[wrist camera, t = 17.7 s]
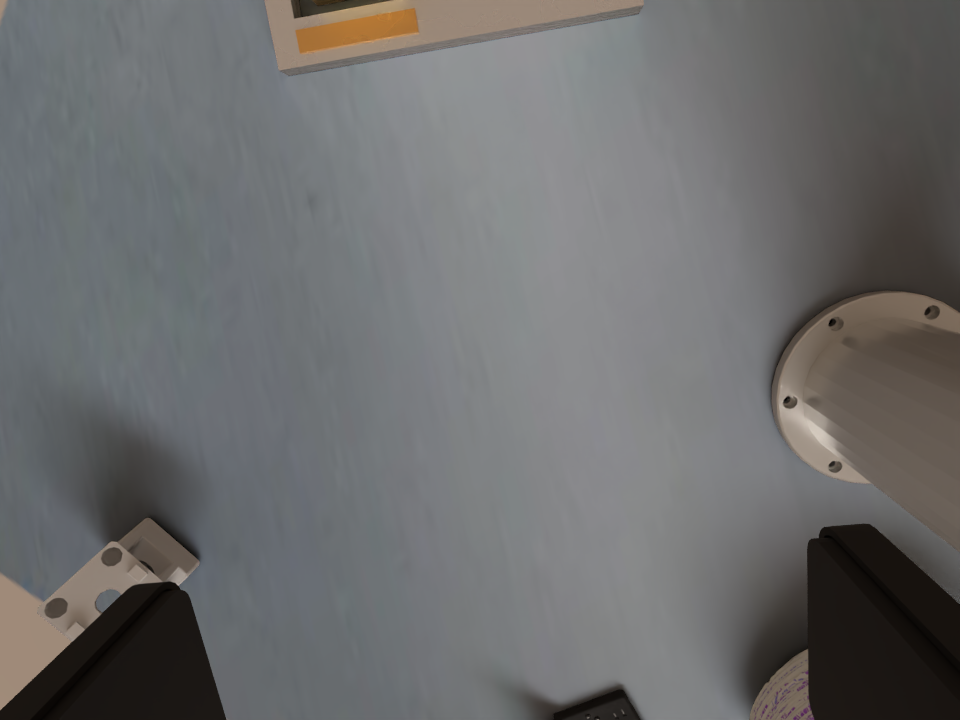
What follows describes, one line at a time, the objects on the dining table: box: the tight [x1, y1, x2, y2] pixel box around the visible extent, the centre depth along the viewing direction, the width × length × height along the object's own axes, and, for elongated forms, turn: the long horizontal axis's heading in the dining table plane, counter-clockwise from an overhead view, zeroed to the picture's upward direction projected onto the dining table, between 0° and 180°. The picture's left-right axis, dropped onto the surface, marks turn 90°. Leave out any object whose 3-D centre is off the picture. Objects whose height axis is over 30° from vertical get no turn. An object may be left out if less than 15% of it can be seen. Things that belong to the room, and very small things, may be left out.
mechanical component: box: [37, 518, 200, 642], centre depth 40 cm, size 5×8×10 cm
